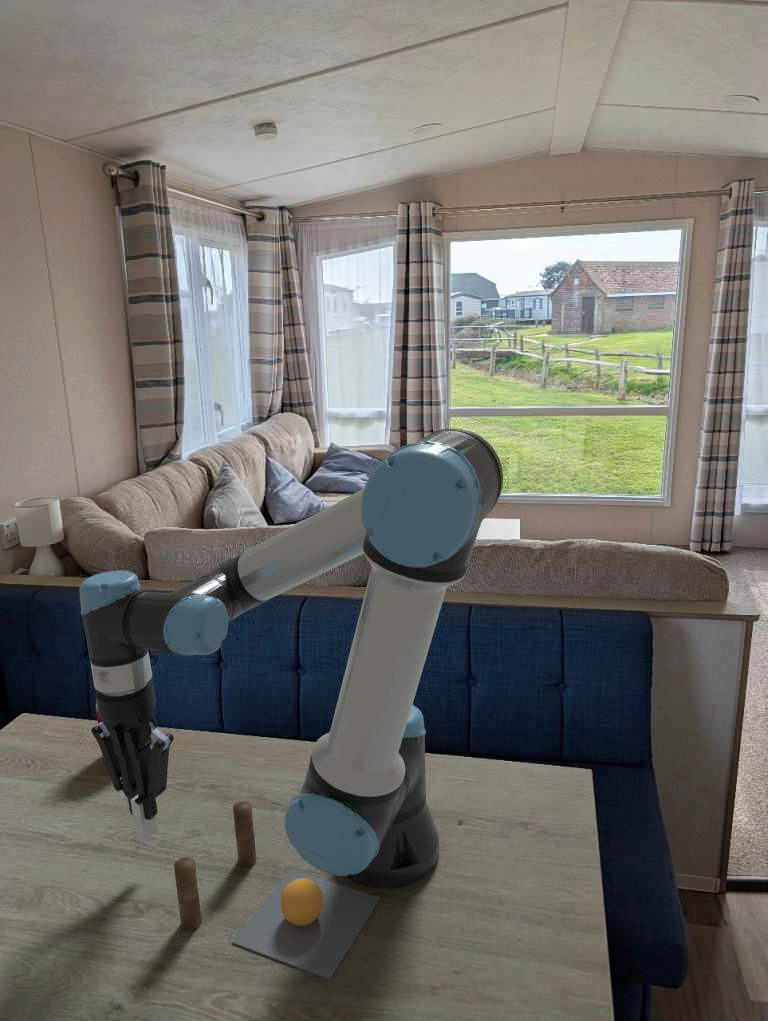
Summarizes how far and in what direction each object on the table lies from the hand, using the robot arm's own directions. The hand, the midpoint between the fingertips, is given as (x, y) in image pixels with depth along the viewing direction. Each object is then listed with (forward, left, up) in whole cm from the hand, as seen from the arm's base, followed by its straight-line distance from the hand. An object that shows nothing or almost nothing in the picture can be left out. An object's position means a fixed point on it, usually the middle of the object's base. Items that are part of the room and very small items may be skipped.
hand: (147, 835), depth 108 cm
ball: (-26, 0, -2) cm, 26 cm away
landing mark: (-26, 0, -5) cm, 27 cm away
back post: (-12, -6, -5) cm, 15 cm away
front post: (-12, +6, -5) cm, 15 cm away
